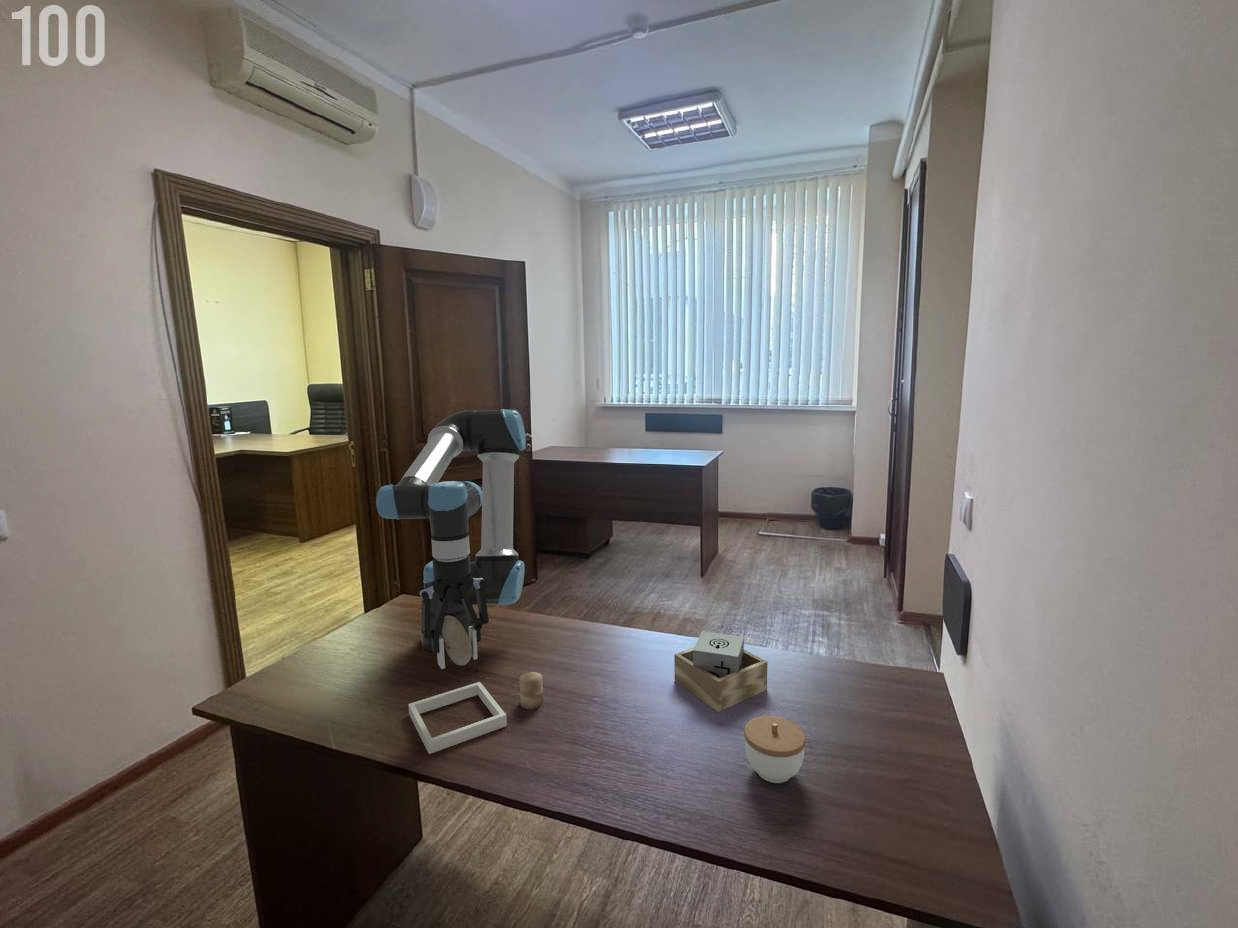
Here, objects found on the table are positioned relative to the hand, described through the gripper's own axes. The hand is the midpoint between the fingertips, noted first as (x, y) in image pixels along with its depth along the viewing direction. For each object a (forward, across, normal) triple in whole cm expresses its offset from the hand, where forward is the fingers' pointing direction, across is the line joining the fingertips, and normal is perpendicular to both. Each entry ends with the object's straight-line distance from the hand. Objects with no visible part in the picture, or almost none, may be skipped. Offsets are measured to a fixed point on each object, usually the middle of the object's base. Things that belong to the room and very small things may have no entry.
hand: (457, 661), depth 121 cm
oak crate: (+12, -54, +23) cm, 60 cm away
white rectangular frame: (+13, +1, +1) cm, 13 cm away
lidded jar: (+13, -42, +50) cm, 67 cm away
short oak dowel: (+12, -15, +4) cm, 20 cm away
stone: (+2, 0, 0) cm, 2 cm away
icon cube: (+12, -53, +23) cm, 59 cm away
